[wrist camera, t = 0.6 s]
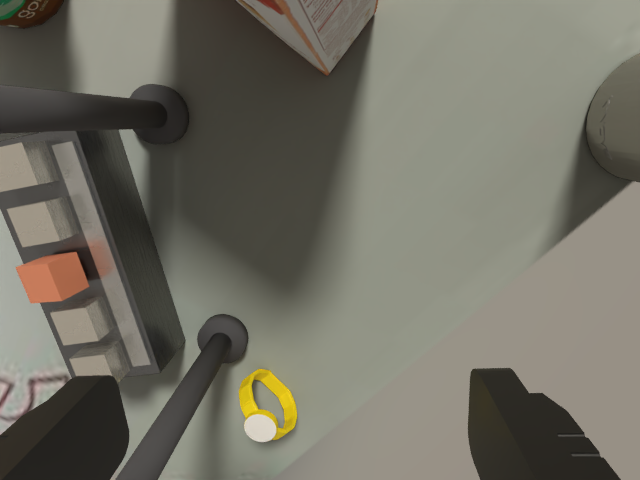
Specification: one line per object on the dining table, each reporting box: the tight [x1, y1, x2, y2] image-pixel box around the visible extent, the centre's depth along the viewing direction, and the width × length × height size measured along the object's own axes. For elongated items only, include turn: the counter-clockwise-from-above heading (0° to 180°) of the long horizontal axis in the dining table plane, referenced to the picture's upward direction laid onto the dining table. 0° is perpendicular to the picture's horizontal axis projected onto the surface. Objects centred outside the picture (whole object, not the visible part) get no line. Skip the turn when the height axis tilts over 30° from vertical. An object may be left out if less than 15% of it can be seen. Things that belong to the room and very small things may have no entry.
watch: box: [239, 369, 297, 442], centre depth 35 cm, size 6×3×6 cm, turn 42°
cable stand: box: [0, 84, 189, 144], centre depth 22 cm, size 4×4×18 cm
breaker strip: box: [0, 130, 185, 384], centre depth 31 cm, size 8×20×7 cm, turn 11°
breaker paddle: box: [16, 252, 89, 303], centre depth 28 cm, size 3×3×2 cm
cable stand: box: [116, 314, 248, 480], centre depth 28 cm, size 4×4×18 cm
